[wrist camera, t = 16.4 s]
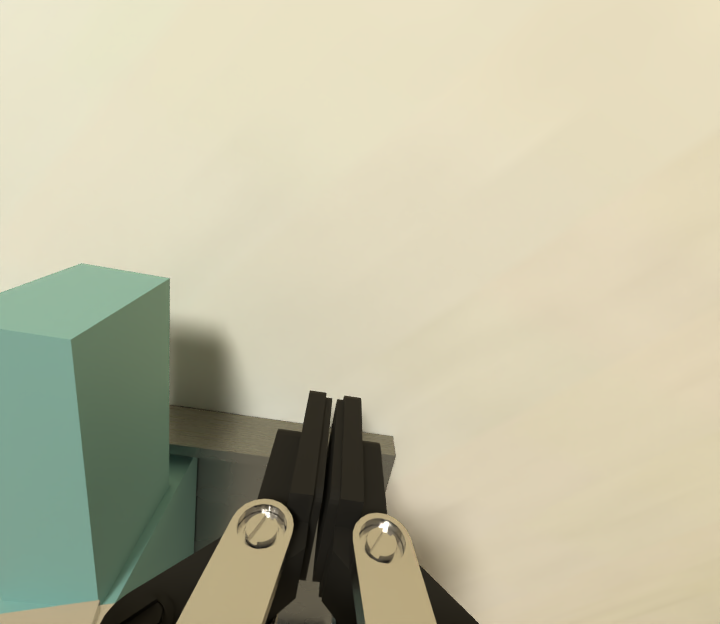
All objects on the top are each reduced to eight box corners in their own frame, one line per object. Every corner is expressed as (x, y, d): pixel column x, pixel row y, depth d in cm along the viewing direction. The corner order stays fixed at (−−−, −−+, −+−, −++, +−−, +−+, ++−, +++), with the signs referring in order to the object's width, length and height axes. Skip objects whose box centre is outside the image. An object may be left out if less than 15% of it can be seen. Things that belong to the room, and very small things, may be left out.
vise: (392, 436, 17) (427, 661, 9) (340, 624, 22) (335, 870, 14) (-171, 357, 15) (-729, 562, 7) (-85, 584, 20) (-358, 847, 12)
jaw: (204, 263, 12) (41, 373, 6) (191, 626, 20) (110, 856, 13) (98, 245, 12) (-199, 338, 6) (124, 620, 19) (8, 853, 13)
